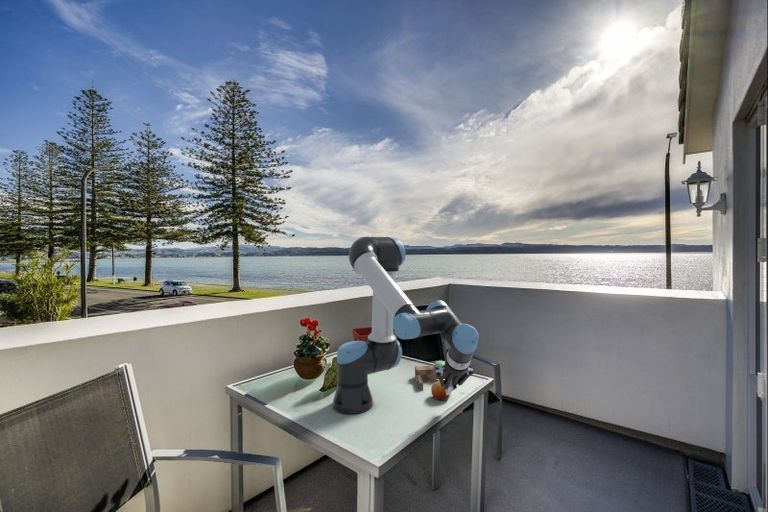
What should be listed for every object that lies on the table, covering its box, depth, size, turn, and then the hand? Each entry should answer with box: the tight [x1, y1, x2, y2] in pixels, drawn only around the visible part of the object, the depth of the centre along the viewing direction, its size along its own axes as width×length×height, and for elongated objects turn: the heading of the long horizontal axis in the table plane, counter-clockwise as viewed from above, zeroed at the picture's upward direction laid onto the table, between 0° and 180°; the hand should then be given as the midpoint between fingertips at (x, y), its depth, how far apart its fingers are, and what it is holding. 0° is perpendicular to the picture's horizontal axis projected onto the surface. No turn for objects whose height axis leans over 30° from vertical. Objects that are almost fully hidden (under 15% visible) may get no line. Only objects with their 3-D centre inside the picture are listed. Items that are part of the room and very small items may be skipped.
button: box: [434, 360, 445, 368], centre depth 153 cm, size 6×6×7 cm
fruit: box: [430, 380, 451, 401], centre depth 132 cm, size 8×8×8 cm
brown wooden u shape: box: [415, 374, 452, 391], centre depth 145 cm, size 15×10×3 cm
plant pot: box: [351, 326, 395, 343], centre depth 179 cm, size 19×19×17 cm
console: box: [414, 365, 446, 381], centre depth 153 cm, size 15×5×5 cm, turn 92°
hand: (447, 391), depth 122 cm, fingers closed
